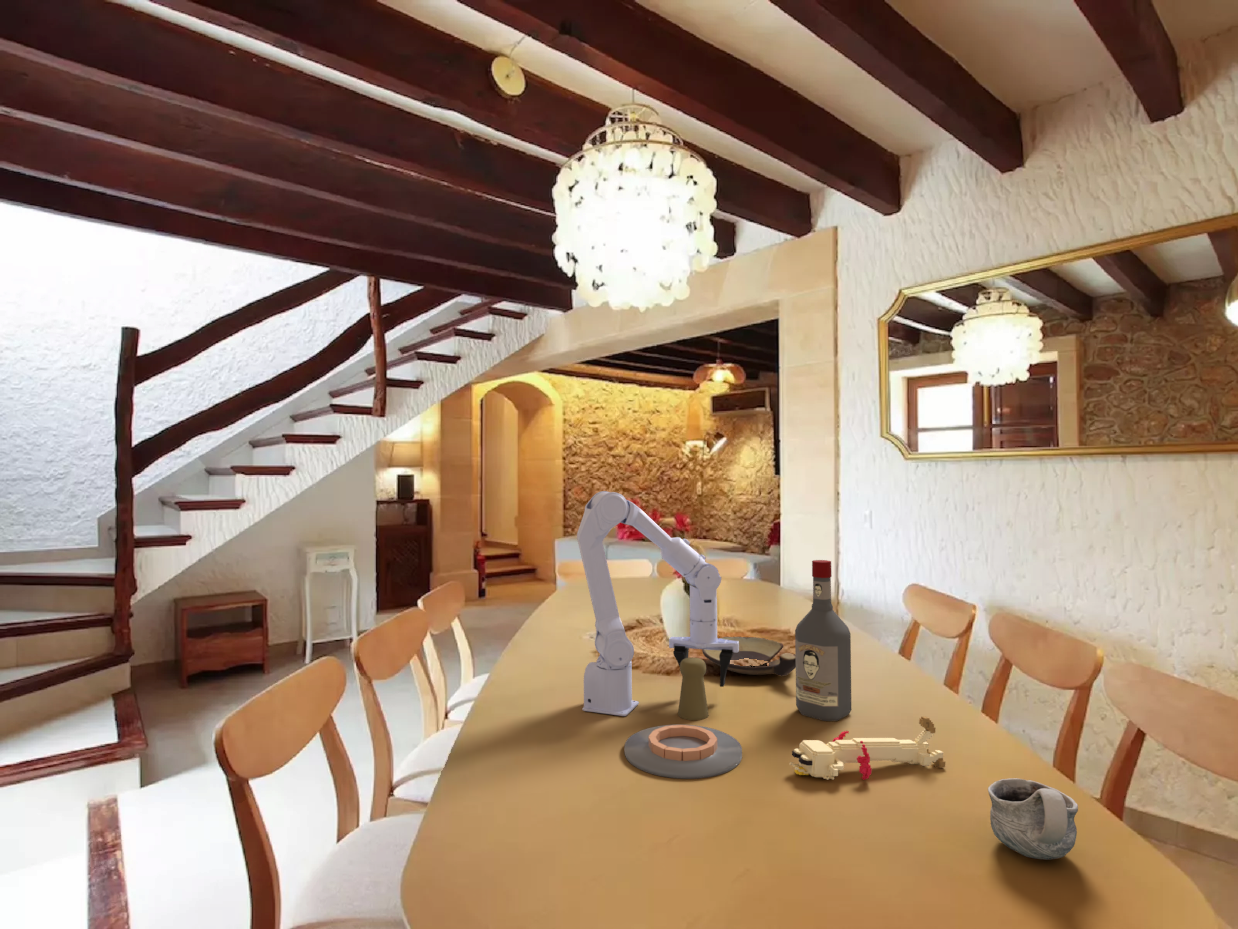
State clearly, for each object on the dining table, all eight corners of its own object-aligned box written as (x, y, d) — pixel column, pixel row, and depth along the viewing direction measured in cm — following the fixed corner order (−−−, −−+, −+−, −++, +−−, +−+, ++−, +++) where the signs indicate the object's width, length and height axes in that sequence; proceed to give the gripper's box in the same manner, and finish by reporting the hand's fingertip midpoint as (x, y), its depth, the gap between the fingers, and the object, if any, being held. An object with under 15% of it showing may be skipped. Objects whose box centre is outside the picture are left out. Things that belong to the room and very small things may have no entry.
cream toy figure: (913, 758, 116) (778, 759, 111) (916, 707, 116) (782, 706, 111) (953, 784, 106) (807, 787, 101) (956, 728, 106) (810, 728, 101)
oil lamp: (774, 654, 177) (774, 624, 177) (824, 690, 147) (823, 655, 147) (691, 658, 174) (691, 628, 174) (725, 695, 144) (725, 660, 144)
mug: (1049, 831, 89) (1048, 755, 89) (1116, 889, 77) (1114, 801, 77) (975, 830, 90) (974, 754, 90) (1029, 888, 77) (1028, 800, 77)
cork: (707, 721, 130) (707, 663, 130) (676, 719, 131) (675, 662, 131) (709, 710, 135) (709, 655, 136) (679, 708, 137) (679, 654, 137)
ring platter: (606, 767, 110) (606, 752, 110) (646, 724, 128) (646, 711, 128) (728, 787, 102) (728, 770, 102) (751, 738, 121) (751, 724, 121)
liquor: (814, 701, 140) (812, 557, 140) (856, 712, 134) (854, 560, 134) (791, 712, 134) (789, 561, 134) (833, 724, 127) (831, 565, 128)
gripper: (665, 621, 140) (666, 686, 140) (735, 625, 136) (736, 692, 136) (672, 614, 147) (673, 676, 146) (739, 617, 142) (740, 682, 142)
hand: (704, 683), depth 141 cm, fingers open, 7 cm apart
